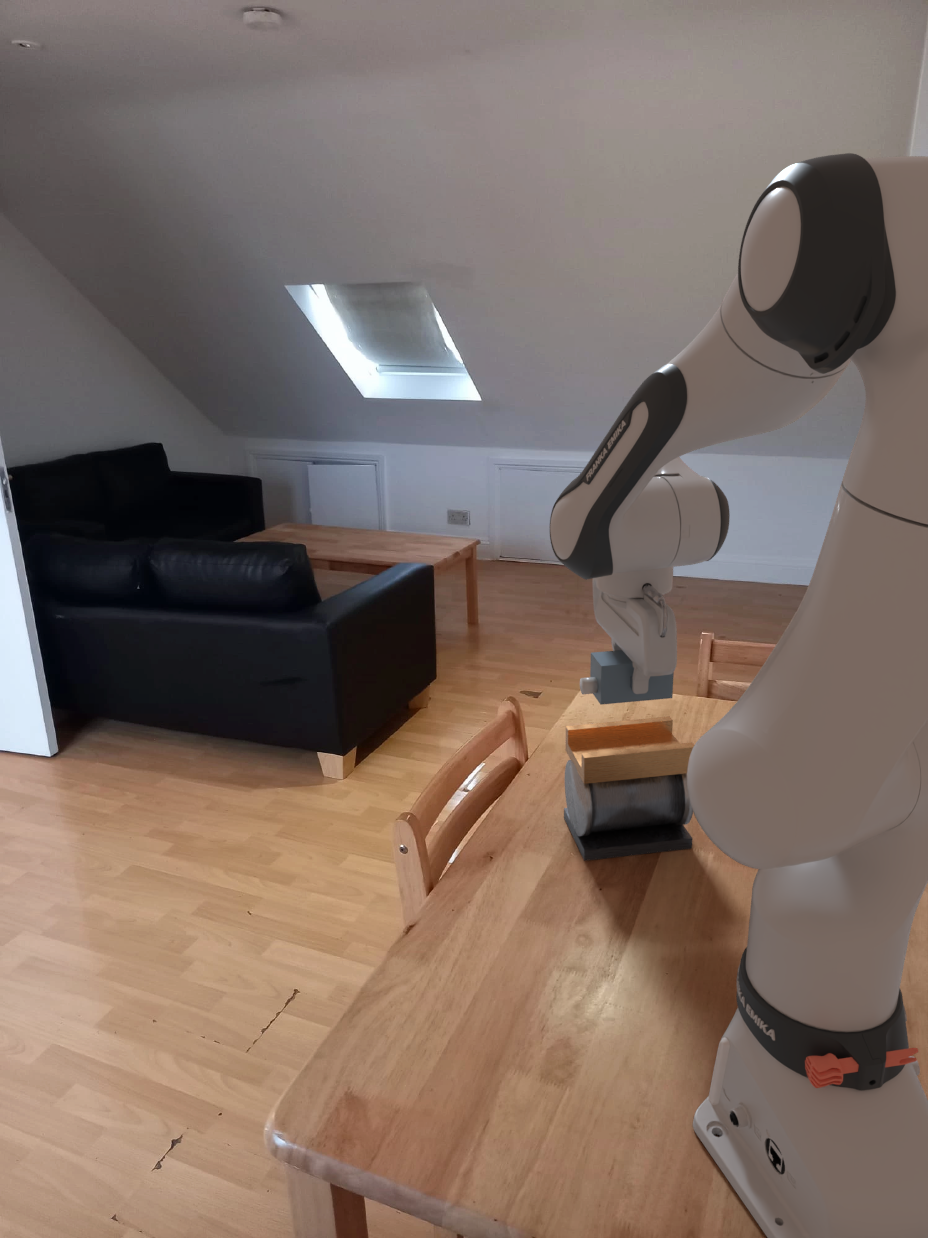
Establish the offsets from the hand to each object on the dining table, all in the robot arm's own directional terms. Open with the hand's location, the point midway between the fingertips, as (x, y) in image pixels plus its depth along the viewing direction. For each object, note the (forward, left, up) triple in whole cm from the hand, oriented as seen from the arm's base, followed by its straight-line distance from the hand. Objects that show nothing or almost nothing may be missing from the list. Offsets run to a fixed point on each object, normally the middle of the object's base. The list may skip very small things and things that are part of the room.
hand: (630, 681), depth 104 cm
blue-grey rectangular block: (0, 0, -2) cm, 2 cm away
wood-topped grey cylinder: (0, 0, -21) cm, 21 cm away
